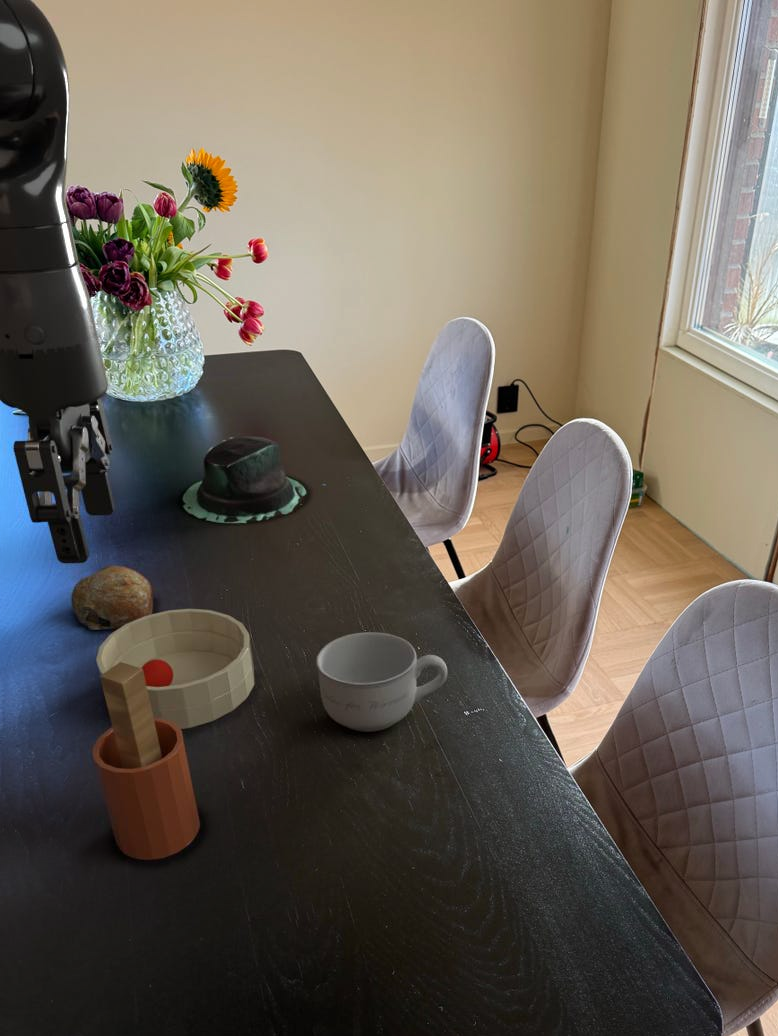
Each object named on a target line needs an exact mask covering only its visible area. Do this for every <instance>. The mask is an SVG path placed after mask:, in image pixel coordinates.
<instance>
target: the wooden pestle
mask: <svg viewBox="0 0 778 1036" xmlns="http://www.w3.org/2000/svg"><path fill="white" fill-rule="evenodd" d="M99 679H100V683H101V687H102V691H103V694H104V698H105V703H106V706H107V710H108V715H109V719H110V722H111V726H112V727H113V731H114V735H115V738H116V742H117V746H118V750H119V754H120V758H121V762H122V766H123V768H124V769H134V768H139V767H144V766H148V765H151V764H153V763H155V762H157V761H159V760H161V759H162V755H161V750H160V746H159V741H158V737H157V732H156V727H155V723H154V718H153V714H152V709H151V705H150V700H149V696H148V691H147V687H146V682H145V677H144V673H143V669H142V668H139V667H135V666H132V665H129V664H126V663H123V662H119V663H118V664H116V665H115V666H114V667H112V668H111V669H109V670H108V671H107V672H105V673H104V674H102V675H101V676H100V675H99ZM112 727H111V728H112Z"/></svg>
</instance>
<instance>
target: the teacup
mask: <svg viewBox="0 0 778 1036" xmlns="http://www.w3.org/2000/svg"><path fill="white" fill-rule="evenodd" d="M315 660H316V661H315V662H316V663H315V665H316V668H317V671H318V684H319V691H320V697H321V702H322V705H323V708H324V710H325V712H326V713H327V715H329V717H330V718H331V719H332V720H333V721H335V722H336V723H338V724H339V725H341V726H344V727H346V728H348V729H350V730H354V731H358V732H363V733H364V732H367V733H369V732H370V733H371V732H378V731H382V730H385V729H388V728H390V727H392V726H393V725H395V724H396V723H398V722H400V721H401V720H403V719H404V718H405V717H406V716H407V715H408V714H409V713H410V711H412V709H413V706H414V703H418V702H420V701H421V700H422V699H423V697H425V696H427V695H429V694H431V693H433V692H435V691H436V690H438V689H439V688H441V687H442V686H443V685H444V684H445V682H446V680H447V676H448V667H447V665H446V662H445V660H444V659H442V658H441V657H439V656H437V655H434V654H426V655H424V656H421V657H419V658H418V657H417V652H416V649H415V648H414V647H413V645H412V644H411V643H410V642H409V641H408V640H406V639H405V638H402V637H399V636H397V635H394V634H390V633H385V632H376V631H375V632H374V631H367V632H357V633H352V634H347V635H344V636H340V637H338V638H336V639H334V640H332V641H330V642H329V643H327V644H325V645H324V647H322V648H321V650H319V652H318V654H317V655H316V659H315ZM426 667H435V668H436V669H437V671H438V674H437V676H436V677H435V678H433V679H432V680H430V681H429V682H427V683H426V684H423V685H419V686H417V679H419V677H420V675H421V672H422V671H423V669H424V668H426Z"/></svg>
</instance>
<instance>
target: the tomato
mask: <svg viewBox="0 0 778 1036" xmlns="http://www.w3.org/2000/svg"><path fill="white" fill-rule="evenodd" d="M142 669H143V673H144V677H145V682H146V686H150V687H164V686H169V685H170V684H171V682H172V680H173V670H172V668H171V666H170V665H169V664H168V663H167V662H165V661H163V660H159V659H155V660H151V661H148V662H147V663H145V664H144V665H143V666H142Z"/></svg>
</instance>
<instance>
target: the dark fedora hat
mask: <svg viewBox="0 0 778 1036" xmlns="http://www.w3.org/2000/svg"><path fill="white" fill-rule="evenodd" d="M202 467H203V475H204V476H203V478H202V480H200V481H198V482H195V483H194V484H192V485H191V486H190V487H189V488H187V490H186V491H185V493H183V496H182V501H183V503H185V504H184V505H182V507H183V509H184V510H185V511H186V513H188V514H190V515H193V516H194V517H196V518H198V519H205V518H206V519H205V521H209V522H214V523H220V524H221V523H222V524H248V523H247V521H249V520H251V519H252V518H256V521H261V520H263V518H264V517H266V520H269V518H271V517H274V516H275V513H277V512H280V513H281V514H282V515H288V514H289V513H292V512H293V510H294V508H295V507H296V506H297V504H299V499H301V498H300V496H302V497H304V496H305V495H307V491H306V488H305V486H304V485H302V484H301V483H300V482H298V481H297V480H295V479H292V478H290V477H289V476H286V473H285V470H284V467H283V464H282V463H281V456H280V444H279V443H278V442H276V441H273V440H271V439H269V438H266V437H259V436H233V437H229V438H228V439H227V440H226V439H222V441H221V443H218V444H216V445H213V446H211V447H210V448H209V449H208V450H207V451H206V453H205V455H204V457H203V460H202ZM296 488H298V493H299V494H300V496H299V494H298V493H297V491H296ZM301 505H303V504H302V503H301V504H300V506H301ZM217 518H218V519H217ZM227 518H235V519H237V521H226V522H225V520H226V519H227Z"/></svg>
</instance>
